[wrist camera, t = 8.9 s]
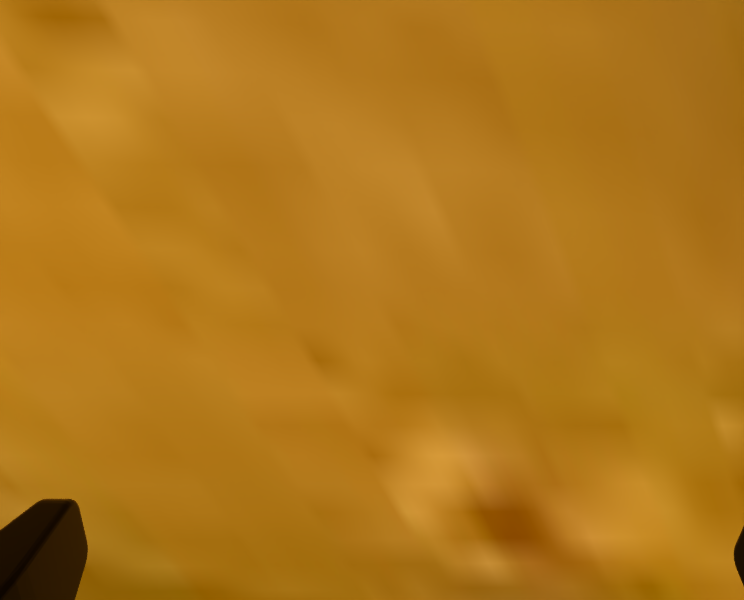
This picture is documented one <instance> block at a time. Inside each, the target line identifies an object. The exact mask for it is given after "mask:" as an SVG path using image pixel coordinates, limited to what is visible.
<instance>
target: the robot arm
mask: <svg viewBox="0 0 744 600" xmlns="http://www.w3.org/2000/svg"><path fill="white" fill-rule="evenodd" d="M87 552H88V545H87V540H86V535H85V531H84V527H83V522H82V518H81V514H80V509H79V506H78V504H77V503H76V501H74V500H71V499H43V500H41V501H39V502H37V503H35V504H34V505H33V506H31V507H30V508H29V509H27V510H26V511H25V512H23V513H22V514H21V515H19V516H18V517H17V518H16V519H14V520H13V521H12V522H10V523H9V524H8V525H6V526H5V527H4V528H2V529H1V530H0V600H75V597H76V594H77V591H78V587H79V584H80V581H81V577H82V574H83V571H84V567H85V564H86V559H87ZM734 561H735V565H736V568H737V571H738V573H739V576H740V578H741V581H742V583H743V585H744V527H743V529H742V531H741V533H740V536H739V538H738V540H737V543H736V545H735V548H734Z"/></svg>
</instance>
